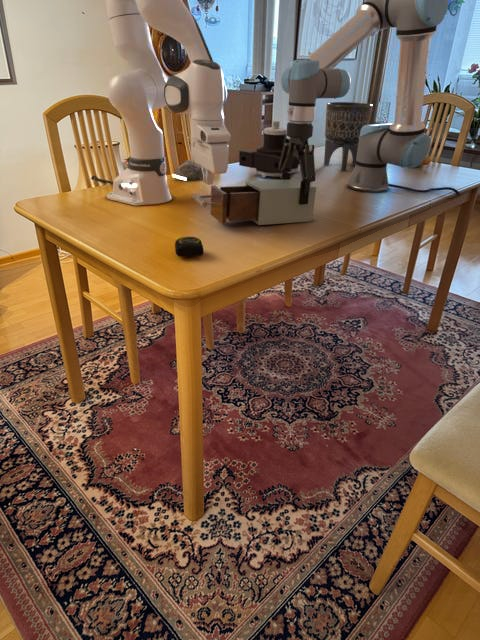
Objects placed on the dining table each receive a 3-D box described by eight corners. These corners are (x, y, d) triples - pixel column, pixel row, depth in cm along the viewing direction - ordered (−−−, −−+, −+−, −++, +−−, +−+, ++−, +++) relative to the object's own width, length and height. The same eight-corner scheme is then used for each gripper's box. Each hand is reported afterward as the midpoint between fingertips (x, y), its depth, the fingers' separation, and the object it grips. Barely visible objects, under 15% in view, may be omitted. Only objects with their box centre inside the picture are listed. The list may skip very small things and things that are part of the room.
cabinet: (258, 225, 133) (261, 189, 128) (243, 214, 142) (245, 180, 137) (311, 221, 140) (316, 187, 135) (294, 211, 149) (298, 179, 144)
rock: (199, 173, 191) (199, 157, 188) (212, 178, 186) (211, 161, 182) (172, 178, 184) (171, 161, 180) (185, 183, 178) (184, 165, 175)
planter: (313, 167, 208) (319, 103, 195) (331, 160, 222) (338, 101, 209) (353, 173, 199) (362, 107, 185) (369, 166, 213) (379, 104, 199)
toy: (405, 159, 210) (400, 152, 223) (408, 173, 213) (402, 165, 226) (431, 151, 207) (424, 145, 219) (433, 165, 210) (426, 158, 222)
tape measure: (175, 260, 111) (175, 246, 109) (175, 250, 116) (174, 236, 115) (203, 259, 112) (203, 245, 110) (201, 249, 117) (201, 235, 116)
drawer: (202, 225, 127) (202, 194, 123) (191, 215, 135) (191, 186, 130) (275, 220, 135) (278, 191, 131) (261, 211, 143) (263, 183, 139)
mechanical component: (240, 120, 182) (283, 115, 202) (239, 174, 192) (280, 164, 212) (283, 126, 170) (325, 120, 190) (280, 183, 180) (320, 171, 200)
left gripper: (184, 125, 127) (186, 176, 134) (209, 136, 111) (209, 193, 118) (205, 125, 129) (206, 174, 136) (233, 135, 113) (232, 191, 120)
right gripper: (270, 117, 137) (266, 190, 148) (310, 128, 118) (302, 210, 129) (292, 117, 140) (286, 188, 151) (334, 127, 121) (324, 208, 132)
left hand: (208, 183), depth 127 cm, fingers closed
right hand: (293, 199), depth 140 cm, fingers closed on cabinet, 11 cm apart
